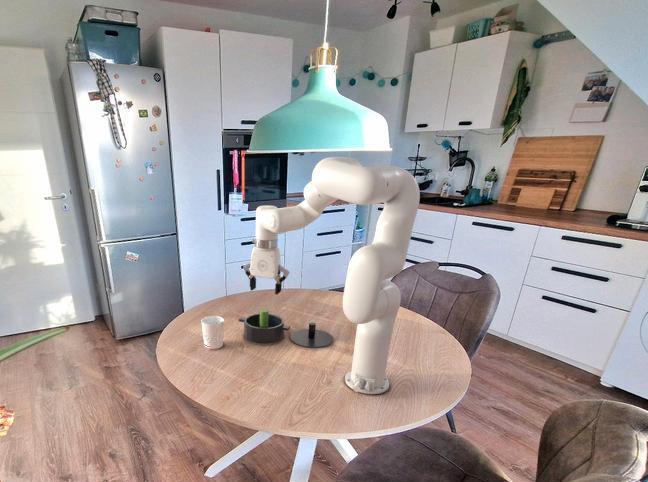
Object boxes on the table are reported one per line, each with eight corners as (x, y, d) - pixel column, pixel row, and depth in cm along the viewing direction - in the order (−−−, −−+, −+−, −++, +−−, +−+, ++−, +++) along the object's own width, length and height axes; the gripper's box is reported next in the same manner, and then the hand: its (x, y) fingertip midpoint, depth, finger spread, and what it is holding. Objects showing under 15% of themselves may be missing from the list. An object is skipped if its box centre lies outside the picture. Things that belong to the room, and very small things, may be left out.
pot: (281, 349, 136) (281, 333, 133) (231, 338, 144) (230, 322, 142) (295, 334, 148) (296, 318, 145) (248, 324, 156) (248, 309, 154)
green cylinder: (265, 337, 144) (266, 312, 140) (258, 336, 145) (258, 311, 141) (269, 334, 146) (269, 309, 142) (261, 332, 148) (262, 308, 144)
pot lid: (326, 353, 133) (327, 336, 130) (283, 344, 140) (284, 327, 137) (337, 336, 146) (339, 319, 143) (298, 328, 152) (299, 312, 150)
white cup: (219, 351, 135) (218, 325, 131) (199, 348, 137) (197, 322, 133) (227, 342, 142) (227, 317, 138) (207, 339, 144) (206, 314, 140)
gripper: (238, 243, 133) (239, 290, 140) (286, 248, 125) (283, 298, 132) (248, 239, 139) (248, 284, 146) (294, 244, 131) (291, 291, 138)
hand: (265, 291), depth 139 cm, fingers open, 9 cm apart
